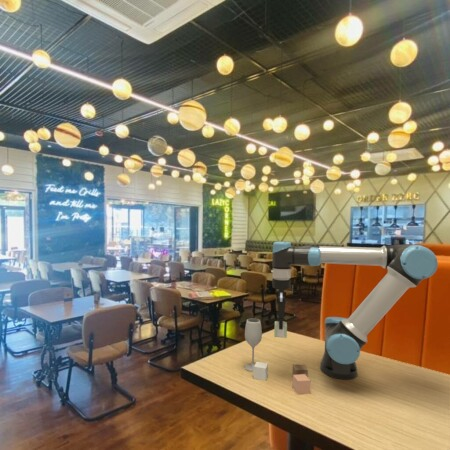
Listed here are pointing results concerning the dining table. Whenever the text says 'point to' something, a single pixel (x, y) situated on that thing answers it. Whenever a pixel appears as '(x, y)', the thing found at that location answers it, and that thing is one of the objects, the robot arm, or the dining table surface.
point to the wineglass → (252, 337)
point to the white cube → (260, 371)
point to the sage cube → (277, 328)
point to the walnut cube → (299, 369)
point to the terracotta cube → (301, 384)
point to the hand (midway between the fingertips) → (280, 334)
